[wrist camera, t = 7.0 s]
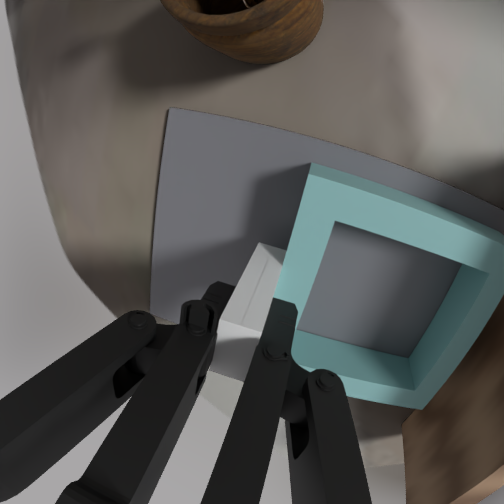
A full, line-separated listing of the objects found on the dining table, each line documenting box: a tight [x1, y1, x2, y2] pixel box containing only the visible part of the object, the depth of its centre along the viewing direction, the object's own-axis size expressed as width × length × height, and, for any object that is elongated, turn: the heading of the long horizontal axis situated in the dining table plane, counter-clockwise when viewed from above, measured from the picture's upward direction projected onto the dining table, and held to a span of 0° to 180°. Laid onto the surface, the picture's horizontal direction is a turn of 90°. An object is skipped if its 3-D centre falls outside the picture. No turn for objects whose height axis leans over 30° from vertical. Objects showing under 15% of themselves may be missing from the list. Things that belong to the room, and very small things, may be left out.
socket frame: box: [273, 163, 504, 410], centre depth 16 cm, size 12×12×3 cm
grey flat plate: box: [150, 107, 504, 358], centre depth 18 cm, size 14×22×1 cm, turn 77°
